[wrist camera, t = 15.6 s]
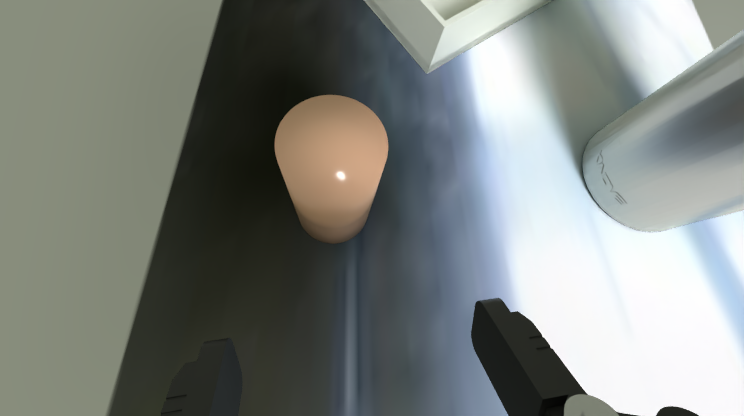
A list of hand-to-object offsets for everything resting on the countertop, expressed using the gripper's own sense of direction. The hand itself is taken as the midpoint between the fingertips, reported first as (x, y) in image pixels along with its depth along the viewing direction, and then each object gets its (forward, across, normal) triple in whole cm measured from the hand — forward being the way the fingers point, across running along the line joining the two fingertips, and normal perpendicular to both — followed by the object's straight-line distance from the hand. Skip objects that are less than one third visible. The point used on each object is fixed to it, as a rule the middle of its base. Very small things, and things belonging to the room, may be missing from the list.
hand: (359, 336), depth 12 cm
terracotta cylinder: (+14, 0, +3) cm, 14 cm away
